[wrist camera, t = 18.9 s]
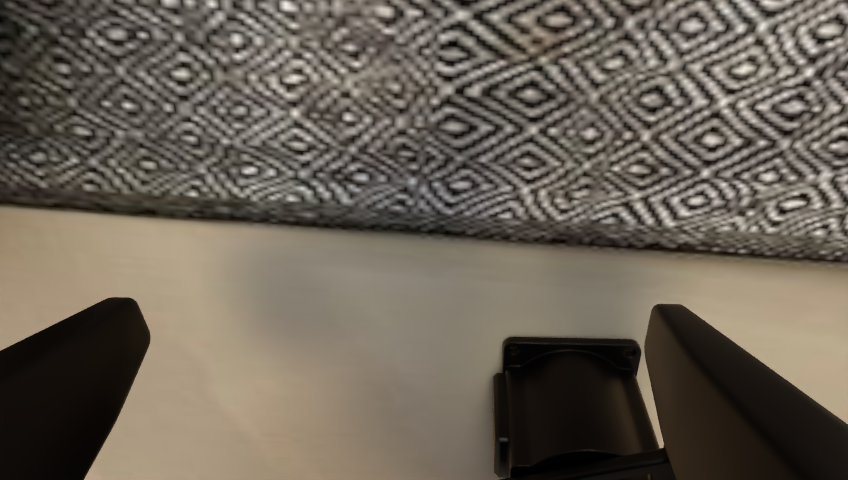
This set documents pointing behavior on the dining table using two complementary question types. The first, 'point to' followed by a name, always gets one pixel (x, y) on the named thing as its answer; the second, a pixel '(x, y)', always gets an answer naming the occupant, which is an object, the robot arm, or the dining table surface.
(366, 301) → the dining table surface
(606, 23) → the dining table surface
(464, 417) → the dining table surface
